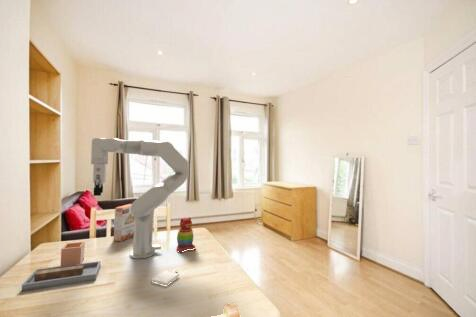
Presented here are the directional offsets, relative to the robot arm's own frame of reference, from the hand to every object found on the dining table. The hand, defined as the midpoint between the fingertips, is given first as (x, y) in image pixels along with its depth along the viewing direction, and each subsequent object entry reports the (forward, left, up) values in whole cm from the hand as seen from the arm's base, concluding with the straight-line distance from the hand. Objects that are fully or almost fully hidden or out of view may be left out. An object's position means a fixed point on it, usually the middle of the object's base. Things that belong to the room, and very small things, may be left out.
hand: (98, 194), depth 117 cm
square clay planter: (+8, +6, -32) cm, 34 cm away
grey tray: (+8, +20, -32) cm, 39 cm away
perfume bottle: (-32, +35, -33) cm, 58 cm away
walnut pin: (+10, +20, -30) cm, 38 cm away
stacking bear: (-46, +5, -33) cm, 56 cm away
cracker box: (-13, -25, -33) cm, 43 cm away
